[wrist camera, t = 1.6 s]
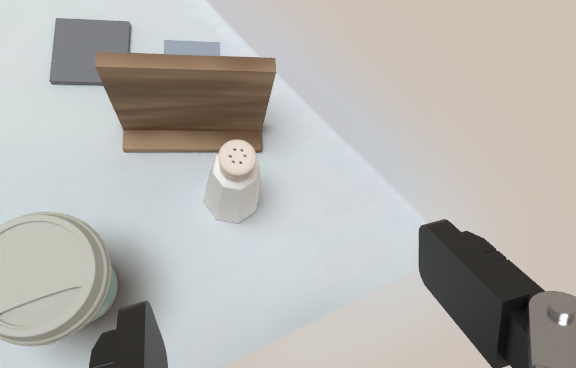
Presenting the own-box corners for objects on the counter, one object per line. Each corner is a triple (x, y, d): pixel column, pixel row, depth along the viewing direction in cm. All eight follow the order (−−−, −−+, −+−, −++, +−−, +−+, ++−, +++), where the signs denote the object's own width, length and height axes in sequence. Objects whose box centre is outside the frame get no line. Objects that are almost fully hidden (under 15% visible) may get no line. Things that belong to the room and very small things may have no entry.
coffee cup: (13, 330, 38) (-72, 331, 26) (50, 230, 40) (-13, 192, 29) (118, 350, 38) (78, 360, 27) (147, 250, 41) (122, 221, 30)
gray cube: (221, 114, 46) (222, 90, 41) (168, 114, 45) (163, 89, 41) (220, 70, 48) (221, 42, 43) (169, 69, 47) (164, 40, 42)
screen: (261, 152, 46) (277, 94, 34) (124, 152, 44) (93, 90, 32) (259, 106, 47) (273, 36, 36) (126, 104, 45) (97, 29, 34)
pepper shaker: (240, 235, 43) (249, 206, 33) (191, 204, 43) (184, 165, 33) (270, 188, 45) (288, 146, 34) (223, 159, 45) (226, 108, 34)
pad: (127, 85, 46) (126, 82, 45) (51, 84, 44) (49, 80, 44) (130, 25, 48) (129, 21, 47) (57, 21, 46) (55, 18, 46)
